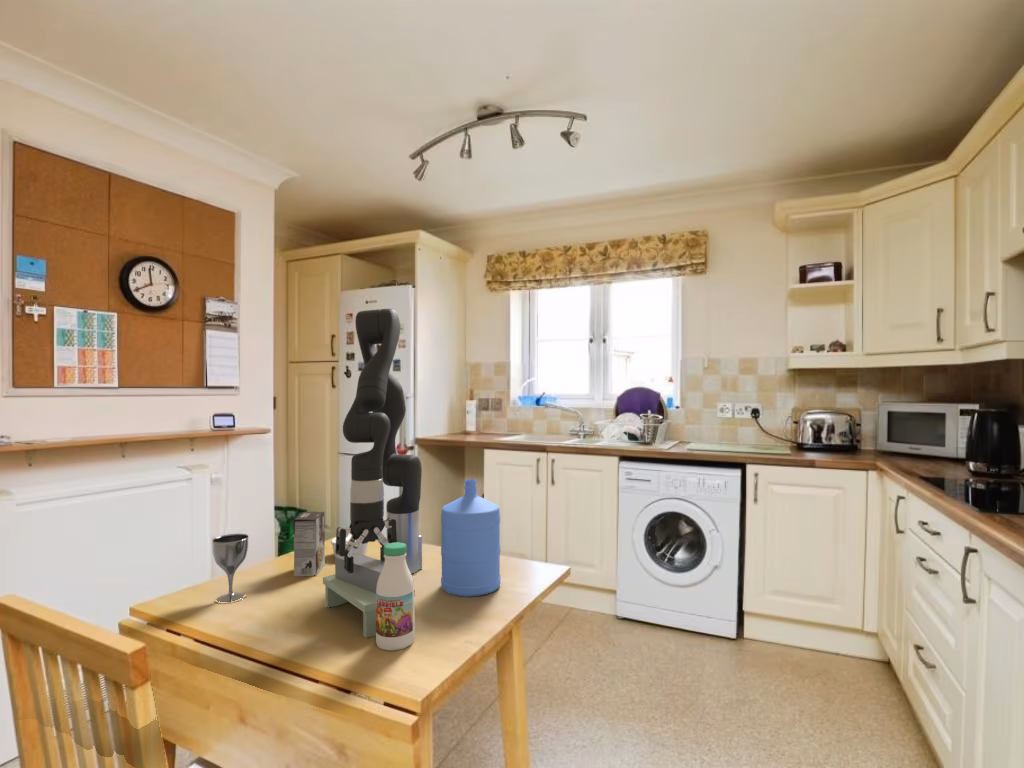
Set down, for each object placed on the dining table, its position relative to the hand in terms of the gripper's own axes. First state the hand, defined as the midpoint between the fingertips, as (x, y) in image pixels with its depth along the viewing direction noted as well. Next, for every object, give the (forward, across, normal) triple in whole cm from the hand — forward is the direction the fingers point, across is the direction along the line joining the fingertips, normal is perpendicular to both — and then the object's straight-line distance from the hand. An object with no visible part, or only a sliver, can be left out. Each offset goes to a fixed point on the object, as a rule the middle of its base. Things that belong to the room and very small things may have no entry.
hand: (367, 568), depth 119 cm
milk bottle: (+11, +2, +17) cm, 20 cm away
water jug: (+11, -28, +3) cm, 30 cm away
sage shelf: (+11, 0, 0) cm, 11 cm away
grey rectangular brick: (+4, 0, 0) cm, 4 cm away
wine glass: (+11, +21, -32) cm, 40 cm away
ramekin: (+11, -16, -44) cm, 48 cm away
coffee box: (+11, -1, -38) cm, 40 cm away
